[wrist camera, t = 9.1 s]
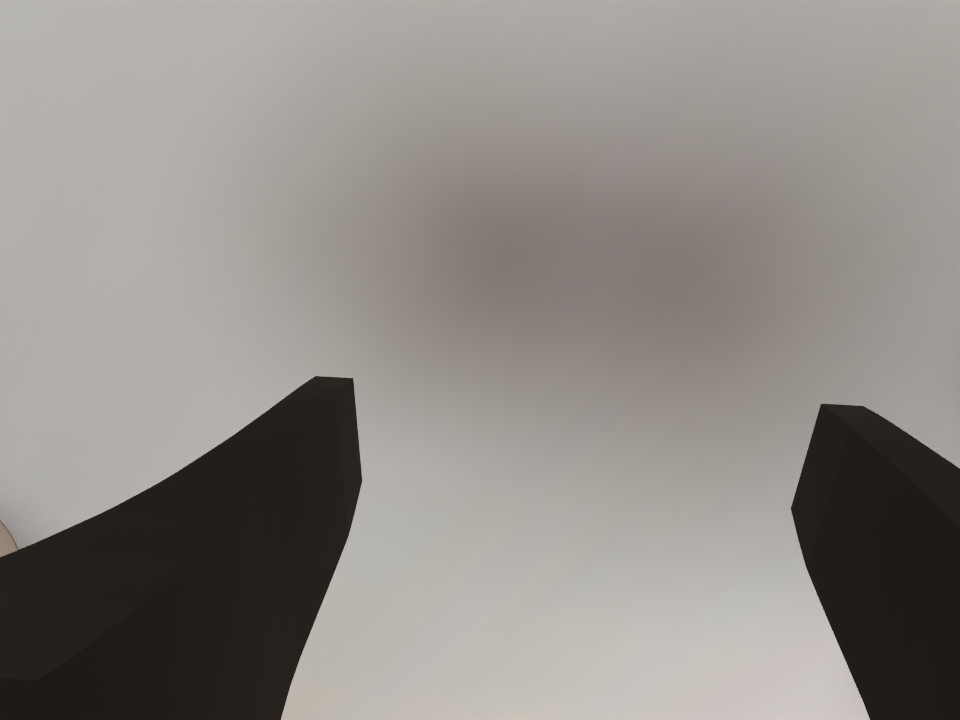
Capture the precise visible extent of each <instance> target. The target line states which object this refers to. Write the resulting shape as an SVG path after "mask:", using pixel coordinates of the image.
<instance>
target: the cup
mask: <svg viewBox="0 0 960 720" xmlns="http://www.w3.org/2000/svg"><path fill="white" fill-rule="evenodd" d="M15 551H17V547H16V545H15V543H14V541H13V539H12V537H11V535H10V534H9V532H8V531H7V529H6V528H5V527H4V525H3V524H2V523H1V522H0V557H2V556H4V555H7V554H10V553H12V552H15Z"/></svg>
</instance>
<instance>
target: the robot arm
mask: <svg viewBox="0 0 960 720" xmlns="http://www.w3.org/2000/svg"><path fill="white" fill-rule="evenodd" d="M361 483H362V475H361V463H360V452H359V440H358V429H357V417H356V406H355V395H354V383H353V378H337V377H319V376H315V377H314V378H312V379H311V380H309V381H308V382H306V383H305V384H303V385H302V386H300V387H299V388H298V389H296V390H295V391H294V392H292V393H291V394H289V395H288V396H287V397H285V398H284V399H283V400H281V401H280V402H279V403H277V404H276V405H275V406H273V407H272V408H271V409H269V410H268V411H267V412H265V413H264V414H262V415H261V416H260V417H258V418H257V419H255V420H254V421H253V422H251V423H250V424H249V425H247V426H246V427H244V428H243V429H242V430H240V431H239V432H237V433H236V434H235V435H233V436H232V437H230V438H229V439H227V440H226V441H224V442H223V443H221V444H220V445H218V446H217V447H215V448H214V449H212V450H211V451H209V452H207V453H206V454H204V455H203V456H201V457H200V458H198V459H197V460H195V461H194V462H192V463H191V464H189V465H187V466H186V467H184V468H183V469H181V470H180V471H178V472H177V473H175V474H173V475H171V476H170V477H168V478H166V479H165V480H163V481H161V482H160V483H158V484H156V485H154V486H153V487H151V488H149V489H147V490H145V491H143V492H142V493H140V494H138V495H136V496H134V497H132V498H130V499H128V500H126V501H125V502H123V503H121V504H119V505H117V506H115V507H113V508H111V509H109V510H107V511H105V512H103V513H101V514H99V515H97V516H95V517H92V518H90V519H88V520H86V521H83V522H81V523H79V524H77V525H75V526H72V527H70V528H68V529H66V530H63V531H61V532H59V533H57V534H55V535H52V536H50V537H48V538H46V539H43V540H41V541H39V542H37V543H35V544H32V545H30V546H27V547H25V548H22V549H20V550H17V551H15V552H12V553H10V554H7V555H4V556H2V557H0V720H281V716H282V713H283V709H284V706H285V702H286V699H287V695H288V692H289V688H290V685H291V682H292V679H293V676H294V673H295V671H296V668H297V665H298V662H299V659H300V656H301V654H302V651H303V649H304V646H305V644H306V641H307V639H308V636H309V634H310V631H311V629H312V626H313V624H314V621H315V619H316V616H317V614H318V611H319V609H320V606H321V604H322V601H323V599H324V596H325V594H326V592H327V589H328V587H329V584H330V582H331V579H332V577H333V574H334V571H335V569H336V566H337V564H338V561H339V559H340V556H341V554H342V551H343V549H344V546H345V543H346V541H347V538H348V535H349V532H350V528H351V524H352V520H353V516H354V513H355V509H356V504H357V500H358V496H359V492H360V488H361ZM791 511H792V515H793V519H794V523H795V527H796V531H797V535H798V539H799V543H800V547H801V550H802V554H803V557H804V561H805V564H806V568H807V570H808V573H809V575H810V578H811V580H812V583H813V585H814V587H815V590H816V592H817V595H818V597H819V599H820V602H821V604H822V606H823V609H824V611H825V614H826V616H827V618H828V621H829V623H830V625H831V628H832V630H833V632H834V635H835V637H836V639H837V642H838V644H839V646H840V649H841V651H842V653H843V656H844V658H845V660H846V662H847V665H848V667H849V669H850V672H851V674H852V676H853V679H854V681H855V683H856V686H857V688H858V690H859V693H860V695H861V697H862V700H863V702H864V705H865V707H866V710H867V713H868V715H869V718H870V720H960V469H959V468H958V467H956V466H955V465H953V464H952V463H951V462H949V461H948V460H946V459H945V458H943V457H942V456H940V455H939V454H937V453H936V452H934V451H933V450H931V449H930V448H928V447H927V446H925V445H924V444H922V443H921V442H919V441H918V440H917V439H915V438H914V437H912V436H911V435H909V434H908V433H906V432H905V431H903V430H902V429H900V428H898V427H897V426H895V425H894V424H892V423H891V422H889V421H888V420H886V419H885V418H883V417H881V416H880V415H878V414H876V413H875V412H873V411H871V410H869V409H867V408H866V407H864V406H851V405H833V404H821V406H820V410H819V413H818V417H817V420H816V423H815V427H814V430H813V434H812V437H811V441H810V444H809V448H808V451H807V455H806V458H805V462H804V465H803V469H802V472H801V476H800V479H799V483H798V486H797V490H796V493H795V497H794V500H793V503H792V507H791Z"/></svg>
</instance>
